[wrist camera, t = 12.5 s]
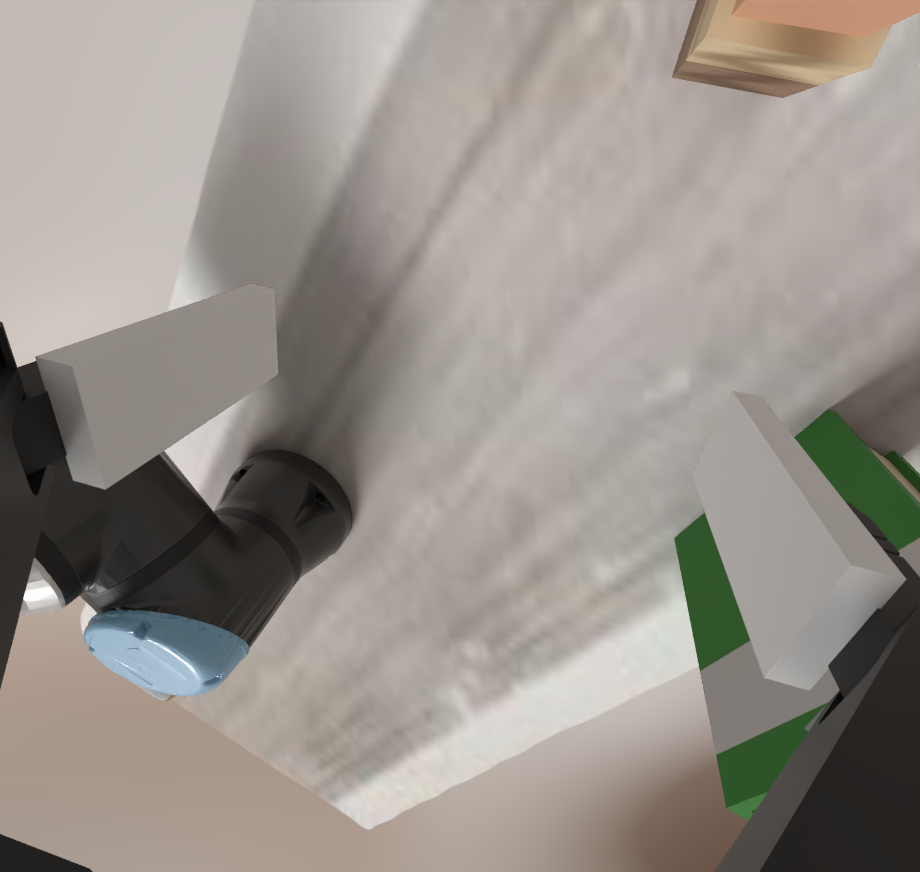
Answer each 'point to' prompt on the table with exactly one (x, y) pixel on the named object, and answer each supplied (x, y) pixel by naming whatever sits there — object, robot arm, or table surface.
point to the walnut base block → (729, 70)
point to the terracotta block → (829, 13)
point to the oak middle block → (779, 47)
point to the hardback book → (725, 635)
